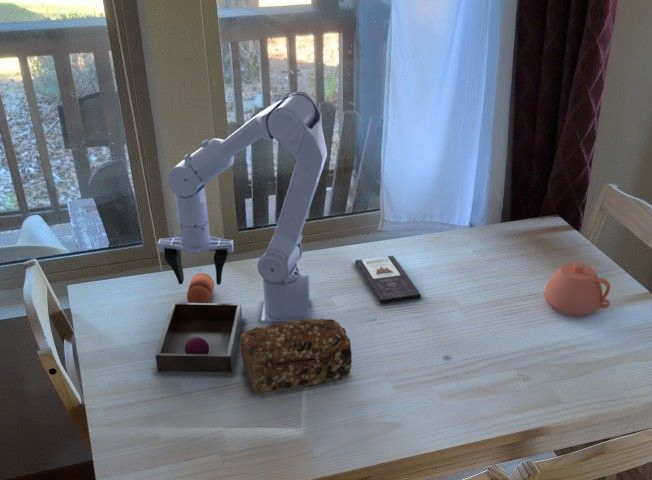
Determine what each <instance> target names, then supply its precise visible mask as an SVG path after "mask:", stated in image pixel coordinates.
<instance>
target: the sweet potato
mask: <svg viewBox="0 0 652 480" xmlns="http://www.w3.org/2000/svg"><path fill="white" fill-rule="evenodd" d="M214 288H215V282H214V279H213V278H212V276H210V275H209V274H207V273H205V272H204V273H203V272H200V273H197V274H194V276H193V277H192V278H191V280H190V283H189V286H188V290H187V292H186V298H187V301H188V303H211V300H212V295H213V292H214Z"/></svg>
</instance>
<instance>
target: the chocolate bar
mask: <svg viewBox="0 0 652 480" xmlns="http://www.w3.org/2000/svg"><path fill="white" fill-rule="evenodd" d="M355 266H356V268H357V269H358V271H359V272H360V274H361V275H362V277H363V278H364V280H365V282H366V284H367V285H368V286H369V288H370V289H371V291H372V293H373V295H374V296H375V298H376V299H377V301H378V302H379V304H380V305H383V304H390V303H397V302H403V301H410V300H411V301H412V300H417V299H421V295H422V294H421V293H420V291H419V290H418V288H417V287H416V286H415V284H414V283H413V282H412V280H411V278H410V277H409V276H408V275H407V273H406V272H405V270H404V268H402V266H401V265H400V263H399V262H398V261H397V258H395V256H394V255H387V256H378V257H371V258H363V259H355Z"/></svg>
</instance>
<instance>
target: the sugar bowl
mask: <svg viewBox="0 0 652 480" xmlns="http://www.w3.org/2000/svg"><path fill="white" fill-rule="evenodd" d="M602 284H603V285H604V286H605V291H604V293H603V287H602ZM610 292H611V283H610V282H609V281H608V280H607V279H605V278H603V277H599V276H598V275H597V272H596V271H595V270H594V268H592V267H591V266H588V265H586V264H584V263H582V262H577V261H576V262H570V263H566V264H563V265H562V266H560V267H559V268H558V269H557V270H556V271H555V272H554V273H553V274H552V275H551V277H550V278H549V279H548V281H547V283H546V285H545V287H544V291H543V296H544V300H545V301H546V303H547V304H548V305H549V307H550V309H551V310H553V311H555V312H557V313H559V314H562V315H564V316H565V315H566V316H569V317H570V316H571V317H576V318H583V317H585V316H589V315H590V314H592V313H594V312H595V311H597V310H598V309H599V308H601V309H607V308H609V307H610V300H609V299H608V298H607V297H608V295H609V293H610ZM606 298H607V299H606Z"/></svg>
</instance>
